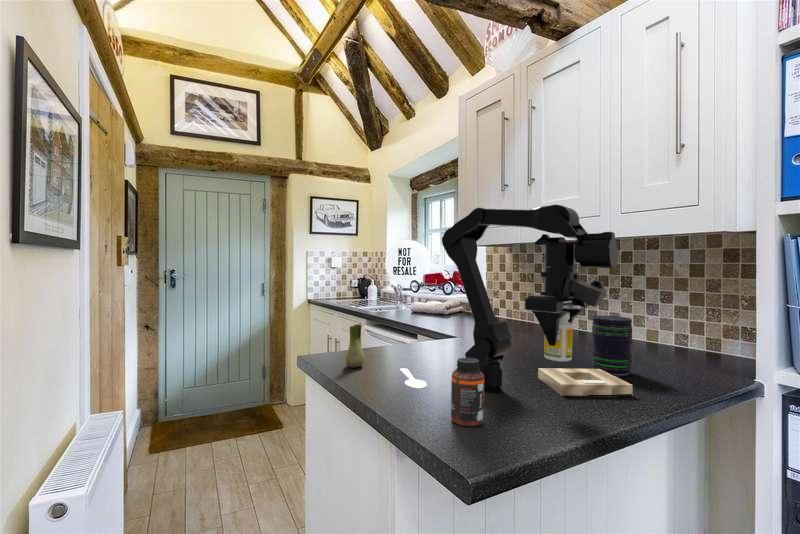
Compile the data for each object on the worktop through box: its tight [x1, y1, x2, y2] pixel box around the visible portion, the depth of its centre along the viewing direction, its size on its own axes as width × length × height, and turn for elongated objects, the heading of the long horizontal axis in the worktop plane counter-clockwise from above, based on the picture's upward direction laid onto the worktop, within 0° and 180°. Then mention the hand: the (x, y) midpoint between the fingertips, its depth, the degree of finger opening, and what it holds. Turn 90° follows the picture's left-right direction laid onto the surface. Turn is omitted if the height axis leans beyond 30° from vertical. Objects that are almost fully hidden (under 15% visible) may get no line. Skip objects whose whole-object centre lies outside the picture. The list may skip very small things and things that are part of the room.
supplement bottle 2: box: [543, 311, 574, 362], centre depth 81 cm, size 5×5×10 cm
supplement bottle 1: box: [450, 357, 485, 427], centre depth 72 cm, size 6×6×11 cm
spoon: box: [399, 367, 428, 390], centre depth 100 cm, size 5×18×1 cm, turn 12°
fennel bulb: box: [345, 323, 365, 369], centre depth 109 cm, size 6×5×12 cm
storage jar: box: [590, 315, 633, 374], centre depth 109 cm, size 10×10×15 cm
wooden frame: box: [537, 367, 634, 397], centre depth 95 cm, size 16×14×3 cm
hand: (558, 343), depth 81 cm, fingers closed on supplement bottle 2, 5 cm apart
